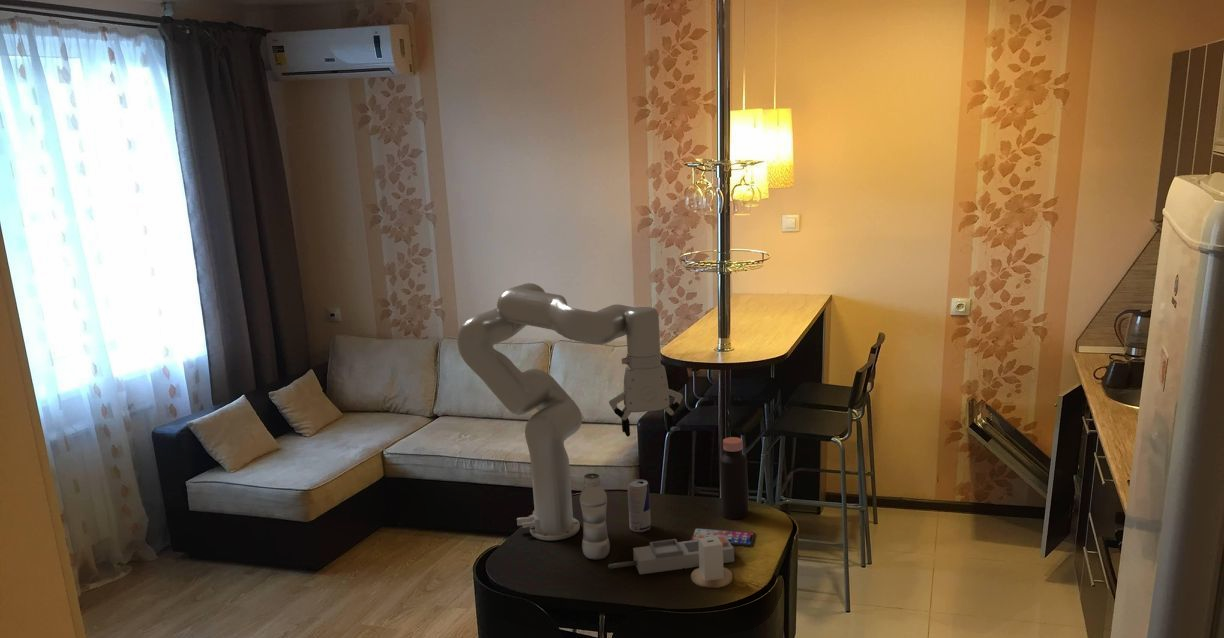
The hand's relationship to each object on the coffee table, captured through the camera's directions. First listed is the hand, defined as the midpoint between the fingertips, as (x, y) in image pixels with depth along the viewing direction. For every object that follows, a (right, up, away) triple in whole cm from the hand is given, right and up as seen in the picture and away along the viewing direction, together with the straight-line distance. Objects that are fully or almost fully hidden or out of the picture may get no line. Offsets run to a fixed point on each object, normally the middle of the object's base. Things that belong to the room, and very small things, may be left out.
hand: (647, 432), depth 195 cm
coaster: (+14, -30, -11) cm, 35 cm away
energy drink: (-1, -26, +15) cm, 30 cm away
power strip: (+5, -29, -4) cm, 30 cm away
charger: (+14, -30, -12) cm, 35 cm away
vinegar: (+23, -24, +20) cm, 39 cm away
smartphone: (+18, -27, +7) cm, 34 cm away
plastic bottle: (-12, -30, +1) cm, 32 cm away
